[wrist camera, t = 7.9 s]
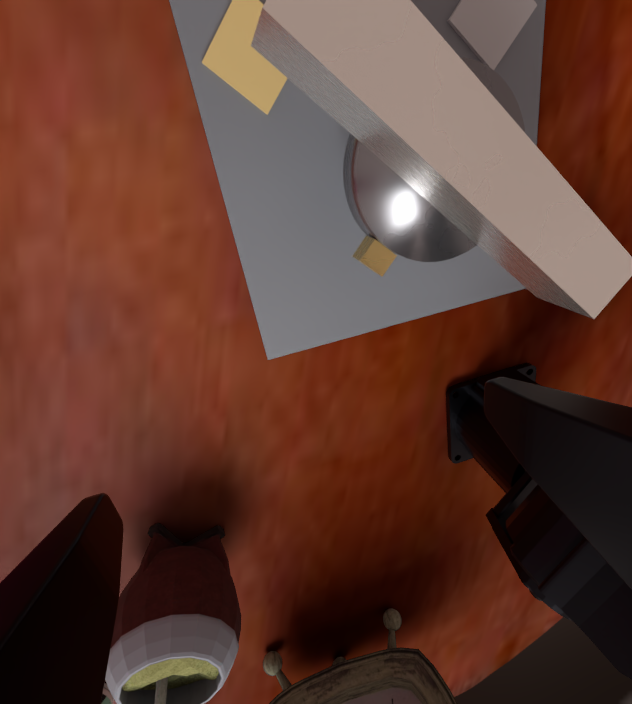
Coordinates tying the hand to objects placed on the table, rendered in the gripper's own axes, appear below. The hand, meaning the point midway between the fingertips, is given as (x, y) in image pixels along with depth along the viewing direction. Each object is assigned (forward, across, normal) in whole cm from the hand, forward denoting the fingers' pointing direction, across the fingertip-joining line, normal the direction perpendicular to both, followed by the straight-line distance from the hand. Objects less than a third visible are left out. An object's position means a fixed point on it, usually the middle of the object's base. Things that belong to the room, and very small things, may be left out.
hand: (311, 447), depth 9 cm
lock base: (+13, -8, -5) cm, 16 cm away
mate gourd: (+13, +9, +16) cm, 23 cm away
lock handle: (+9, -7, -4) cm, 12 cm away
